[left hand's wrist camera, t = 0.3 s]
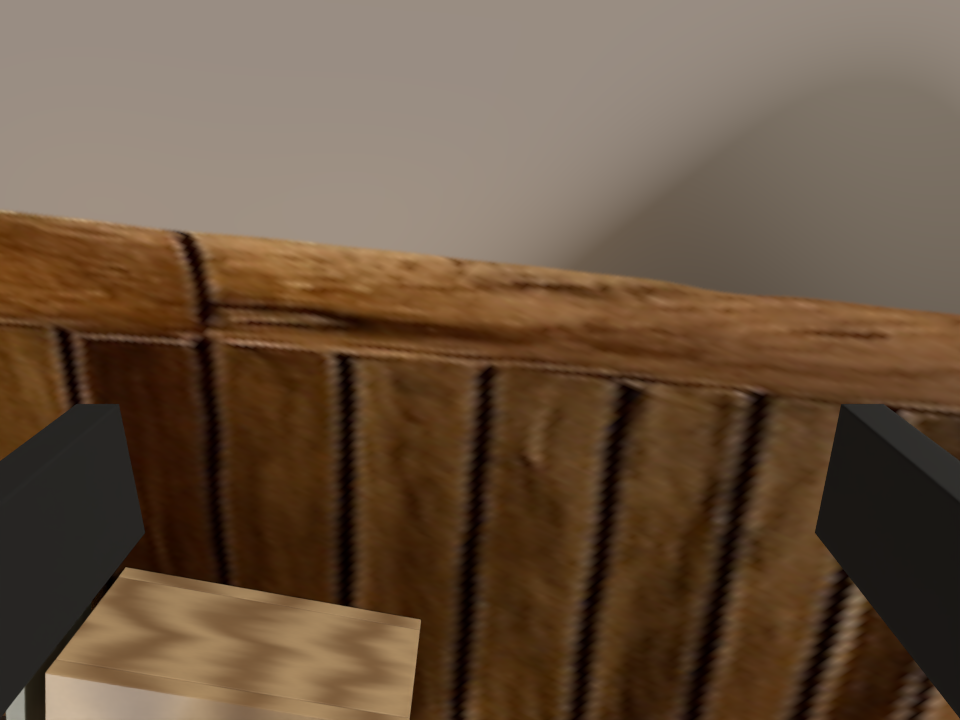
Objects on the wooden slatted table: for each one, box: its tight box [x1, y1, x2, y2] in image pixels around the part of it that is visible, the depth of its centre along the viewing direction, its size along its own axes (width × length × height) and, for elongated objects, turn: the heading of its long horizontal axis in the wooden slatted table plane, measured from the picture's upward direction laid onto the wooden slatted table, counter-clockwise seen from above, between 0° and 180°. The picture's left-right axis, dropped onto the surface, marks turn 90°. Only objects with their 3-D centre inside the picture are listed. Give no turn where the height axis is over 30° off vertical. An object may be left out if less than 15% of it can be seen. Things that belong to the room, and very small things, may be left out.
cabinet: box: [45, 567, 421, 720], centre depth 45 cm, size 21×10×9 cm, turn 77°
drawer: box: [0, 603, 91, 720], centre depth 45 cm, size 25×9×7 cm, turn 77°
